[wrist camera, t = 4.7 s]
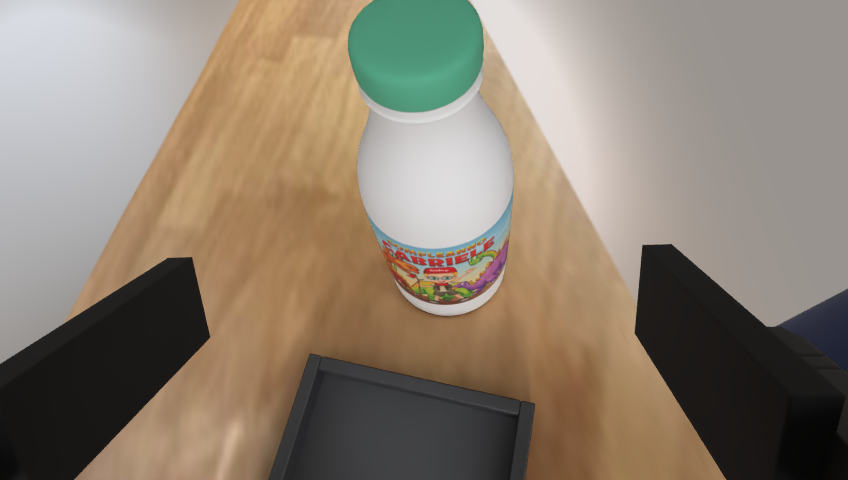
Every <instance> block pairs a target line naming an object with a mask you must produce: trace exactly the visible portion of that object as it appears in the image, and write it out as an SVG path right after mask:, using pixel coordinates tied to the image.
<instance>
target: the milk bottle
mask: <svg viewBox="0 0 848 480" xmlns="http://www.w3.org/2000/svg"><path fill="white" fill-rule="evenodd" d="M483 50H484V42H483V28H482V24H481V21H480V18H479V16H478V13H477V11H476V10H475V8H474V7H473V6H472V5H471V4H470V3H469V2H468V1H467V0H374V1H372V2H371V3H370V4H368V5H367V6H366V7H365V8H364V9H363V10H362V11H361V12H360V13H359V14H358V15H357V17H356V18H355V20H354V21H353V23H352V25H351V28H350V31H349V36H348V52H349V57H350V61H351V65H352V68H353V71H354V74H355V77H356V79H357V82H358V85H359V90H360V93H361V96H362V98H363V99H364V101H365V103H366V104H367V105H368V106H369V107H370V110H369V117H368V121H367V123H366V126H365V129H364V132H363V135H362V138H361V141H360V145H359V151H358V159H357V176H358V183H359V189H360V194H361V198H362V201H363V204H364V207H365V210H366V213H367V216H368V218H369V221H370V223H371V226H372V228H373V231H374V233H375V236H376V238H377V240H378V243H379V245H380V248H381V250H382V252H383V255H384V257H385V259H386V262H387V264H388V266H389V269H390V271H391V273H392V276H393V278H394V280H395V282H396V284H397V286H398V288H399V289H400V291H401V292H402V294H403V295H404V296H405V298H406V299H407V300H408V301H409V302H411V303H412V304H413V305H414V306H416V307H418V308H419V309H421V310H423V311H426V312H428V313H431V314H435V315H442V316H454V315H460V314H464V313H467V312H470V311H473V310H475V309H477V308H478V307H480V306H482V305H483V304H484V303H486V302H487V301H488V300H489V299H490V298H491V297H492V296H493V295H494V293H495V292H496V291H497V289H498V288H499V286H500V284H501V281H502V279H503V276H504V271H505V266H506V259H507V251H508V242H509V233H510V224H511V213H512V202H513V178H514V171H513V161H512V154H511V150H510V146H509V143H508V140H507V137H506V135H505V132H504V130H503V128H502V126H501V124H500V122H499V121H498V119H497V118H496V116H495V115H494V113H493V112H492V111H491V109H490V108H489V107H488V105H487V104H486V103H485V101H484V100H483V98H482V96H481V94H480V92H479V88H480V86H481V83H482V79H483V64H482V63H483Z"/></svg>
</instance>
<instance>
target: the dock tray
mask: <svg viewBox="0 0 848 480" xmlns="http://www.w3.org/2000/svg"><path fill="white" fill-rule="evenodd" d="M534 410H535V404H534V403H530V402H525V401H521V402H520V400H516V399H512V398H507V397H503V396H498V395H494V394H489V393H485V392H480V391H476V390H471V389H467V388H462V387H458V386H453V385H449V384H444V383H440V382H435V381H431V380H426V379H422V378H417V377H413V376H409V375H404V374H400V373H395V372H391V371H386V370H382V369H377V368H373V367H368V366H364V365H359V364H355V363H350V362H346V361H341V360H337V359H332V358H328V357H322V356H319V355H315V354H310V355H309V358H308V361H307V364H306V367H305V370H304V373H303V376H302V379H301V382H300V385H299V388H298V391H297V395H296V398H295V401H294V404H293V407H292V410H291V413H290V416H289V419H288V422H287V425H286V428H285V431H284V434H283V437H282V440H281V443H280V446H279V449H278V452H277V455H276V458H275V461H274V465H273V468H272V471H271V474H270V477H269V480H525V477H526V469H527V462H528V454H529V447H530V439H531V432H532V425H533V417H534Z"/></svg>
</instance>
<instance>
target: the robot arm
mask: <svg viewBox="0 0 848 480" xmlns="http://www.w3.org/2000/svg"><path fill="white" fill-rule="evenodd" d="M635 335H636V336H637V338H638V339H639V341H640V343H641V344H642V346H643V347H644V349H645V350H646V352H647V354H648V355H649V357H650V358H651V360H652V362H653V363H654V365H655V366H656V368H657V370H658V371H659V373H660V374H661V376H662V378H663V379H664V381H665V382H666V384H667V386H668V387H669V389H670V390H671V392H672V394H673V395H674V397H675V398H676V400H677V402H678V403H679V405H680V406H681V408H682V410H683V411H684V413H685V414H686V416H687V418H688V419H689V421H690V422H691V424H692V425H693V427H694V429H695V430H696V432H697V433H698V435H699V437H700V438H701V440H702V441H703V443H704V445H705V446H706V448H707V449H708V451H709V453H710V454H711V456H712V457H713V459H714V461H715V462H716V464H717V465H718V467H719V469H720V470H721V472H722V473H723V475H724V477H725V478H726V480H848V372H846V371H845V370H841V369H840V366H839V365H838V364H837V363H835V362H834V361H833V360H832V359H830V358H829V357H825V354H824V353H823V352H822V351H820V350H819V349H818V348H817V347H815V346H814V345H813V344H812V343H810V342H809V341H808V340H807V339H805V338H803V337H801V336H799V335H796V334H794V333H792V332H790V331H788V330H786V329H784V328H782V327H766V326H765V325H764V324H763V323H762V322H760V321H759V320H758V319H757V318H756V317H755V316H754V315H752V314H751V313H750V312H749V311H748V310H747V309H745V308H744V307H743V306H742V305H741V304H740V303H738V302H737V301H736V300H735V299H734V298H733V297H732V296H730V295H729V294H728V293H727V292H726V291H725V290H724V289H722V288H721V287H720V286H719V285H718V284H717V283H715V282H714V281H713V280H712V279H711V278H710V277H709V276H707V275H706V274H705V273H704V272H703V271H702V270H701V269H699V268H698V267H697V266H696V265H695V264H694V263H693V262H691V261H690V260H689V259H688V258H687V257H686V256H684V255H683V254H682V253H681V252H680V251H679V250H677V249H676V248H675V247H674V246H673V245H672V244H665V245H643V246H642V257H641V268H640V280H639V291H638V302H637V313H636V325H635ZM209 338H210V334H209V330H208V326H207V321H206V317H205V312H204V308H203V304H202V299H201V295H200V291H199V286H198V282H197V277H196V273H195V269H194V264H193V260H192V257H186V258H167V259H166V260H164V261H162V262H161V263H159V264H158V265H156V266H155V267H153V268H151V269H150V270H148V271H147V272H145V273H144V274H142V275H140V276H139V277H137V278H136V279H134V280H132V281H131V282H129V283H128V284H126V285H125V286H123V287H121V288H120V289H118V290H117V291H115V292H113V293H112V294H110V295H109V296H107V297H106V298H104V299H102V300H101V301H99V302H98V303H96V304H94V305H93V306H91V307H90V308H88V309H87V310H85V311H83V312H82V313H80V314H79V315H77V316H75V317H74V318H72V319H71V320H69V321H68V322H66V323H64V324H63V325H61V326H60V327H58V328H56V329H55V330H53V331H52V332H50V333H49V334H47V335H46V336H44V337H42V338H41V339H39V340H38V341H36V342H34V343H33V344H31V345H30V346H28V347H26V348H25V349H23V350H22V351H20V352H19V353H17V354H15V355H14V356H12V357H11V358H9V359H7V360H6V361H4V362H3V363H1V364H0V480H74V479H75V478H76V477H77V476H78V475H79V474H80V473H81V472H82V471H83V470H84V469H85V468H86V467H87V466H88V464H89V463H90V462H91V461H92V460H93V459H94V458H95V457H96V456H97V455H98V454H99V453H100V452H101V451H102V450H103V449H104V448H105V447H106V446H107V445H108V444H109V443H110V442H111V440H112V439H113V438H114V437H115V436H116V435H117V434H118V433H119V432H120V431H121V430H122V429H123V428H124V427H125V426H126V425H127V424H128V423H129V422H130V421H131V420H132V419H133V418H134V416H135V415H136V414H137V413H138V412H139V411H140V410H141V409H142V408H143V407H144V406H145V405H146V404H147V403H148V402H149V401H150V400H151V399H152V398H153V397H154V396H155V395H156V394H157V393H158V391H159V390H160V389H161V388H162V387H163V386H164V385H165V384H166V383H167V382H168V381H169V380H170V379H171V378H172V377H173V376H174V375H175V374H176V373H177V372H178V371H179V370H180V369H181V367H182V366H183V365H184V364H185V363H186V362H187V361H188V360H189V359H190V358H191V357H192V356H193V355H194V354H195V353H196V352H197V351H198V350H199V349H200V348H201V347H202V346H203V345H204V343H205V342H206V341H207V340H208V339H209Z"/></svg>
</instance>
